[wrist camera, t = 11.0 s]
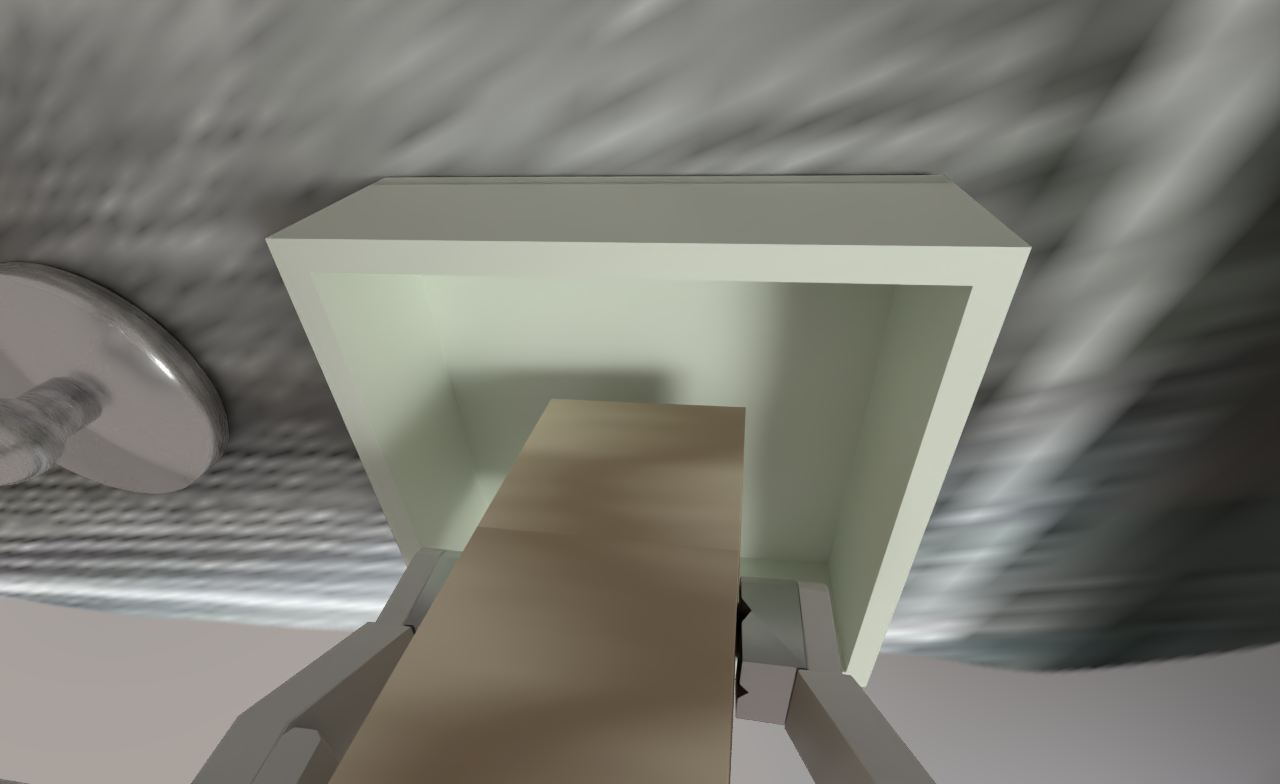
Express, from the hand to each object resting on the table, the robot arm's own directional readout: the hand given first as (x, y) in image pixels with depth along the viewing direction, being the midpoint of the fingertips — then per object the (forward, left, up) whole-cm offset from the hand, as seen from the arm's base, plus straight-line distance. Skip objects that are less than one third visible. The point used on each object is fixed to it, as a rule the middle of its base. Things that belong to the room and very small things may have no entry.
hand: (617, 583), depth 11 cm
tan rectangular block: (0, 0, -3) cm, 3 cm away
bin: (0, 0, -6) cm, 6 cm away
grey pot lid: (+12, -13, -6) cm, 19 cm away
